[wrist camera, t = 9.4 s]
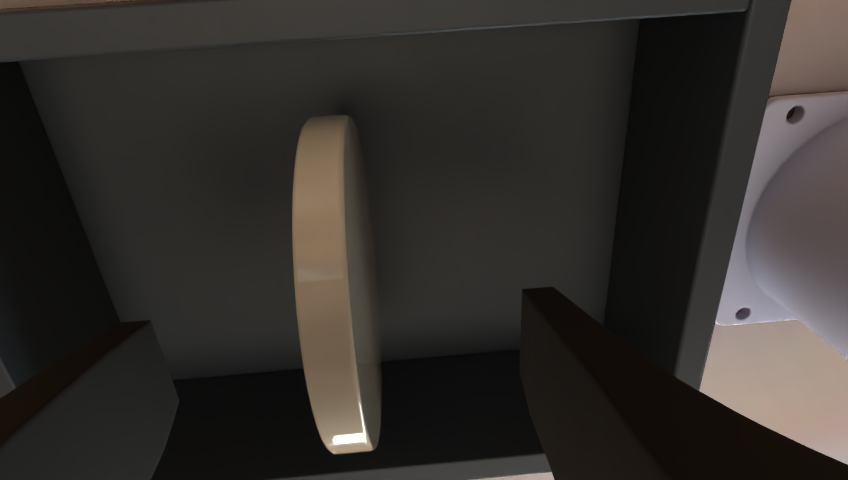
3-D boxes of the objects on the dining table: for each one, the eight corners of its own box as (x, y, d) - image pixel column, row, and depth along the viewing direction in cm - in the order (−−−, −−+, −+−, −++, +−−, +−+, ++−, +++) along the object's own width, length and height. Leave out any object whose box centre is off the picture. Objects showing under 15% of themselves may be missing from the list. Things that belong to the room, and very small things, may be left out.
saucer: (357, 89, 14) (328, 170, 7) (383, 323, 17) (380, 535, 10) (324, 91, 14) (262, 175, 7) (356, 326, 17) (334, 539, 10)
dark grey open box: (665, -34, 14) (803, -41, 9) (614, 347, 19) (684, 460, 15) (-19, 10, 13) (-232, 27, 9) (135, 390, 19) (55, 520, 14)
